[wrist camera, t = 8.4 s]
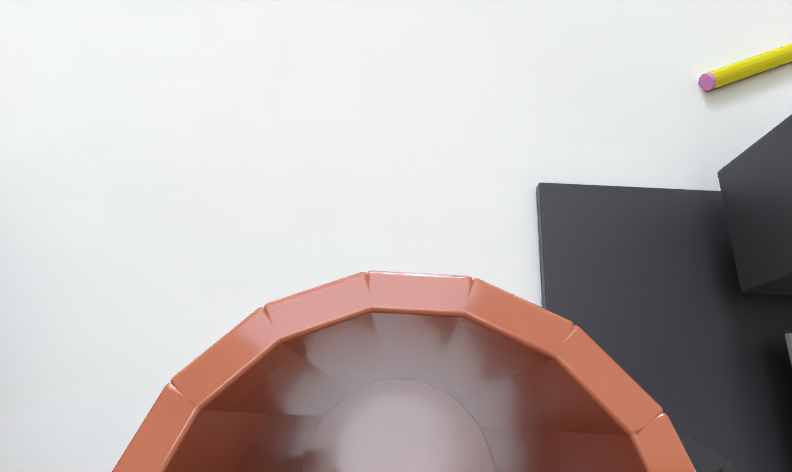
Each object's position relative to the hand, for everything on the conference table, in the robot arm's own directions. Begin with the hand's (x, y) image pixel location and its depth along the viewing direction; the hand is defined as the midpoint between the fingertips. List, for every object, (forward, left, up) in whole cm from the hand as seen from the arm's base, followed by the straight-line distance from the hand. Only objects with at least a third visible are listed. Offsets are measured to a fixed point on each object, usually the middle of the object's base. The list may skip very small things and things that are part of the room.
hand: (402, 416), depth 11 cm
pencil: (+1, +33, -13) cm, 35 cm away
